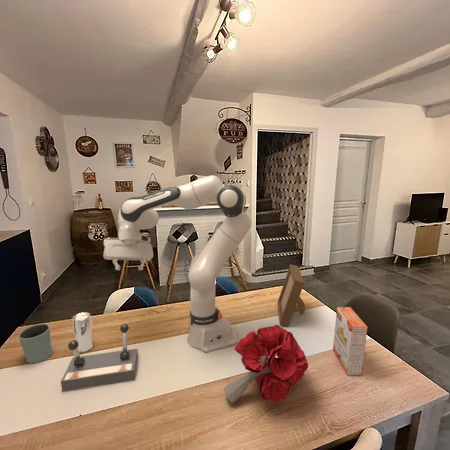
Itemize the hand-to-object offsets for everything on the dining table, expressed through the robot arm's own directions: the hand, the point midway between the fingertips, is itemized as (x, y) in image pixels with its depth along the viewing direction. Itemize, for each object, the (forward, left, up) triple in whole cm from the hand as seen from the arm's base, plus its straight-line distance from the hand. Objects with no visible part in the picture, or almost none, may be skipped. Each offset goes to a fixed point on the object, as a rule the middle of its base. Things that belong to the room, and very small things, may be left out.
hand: (129, 269), depth 108 cm
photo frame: (-79, -5, -35) cm, 87 cm away
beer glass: (+21, -1, -35) cm, 40 cm away
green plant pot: (+38, +1, -35) cm, 51 cm away
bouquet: (-47, +36, -35) cm, 69 cm away
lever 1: (+18, +14, -30) cm, 38 cm away
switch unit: (+10, +16, -35) cm, 39 cm away
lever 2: (+2, +15, -30) cm, 34 cm away
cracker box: (-84, +31, -35) cm, 96 cm away
